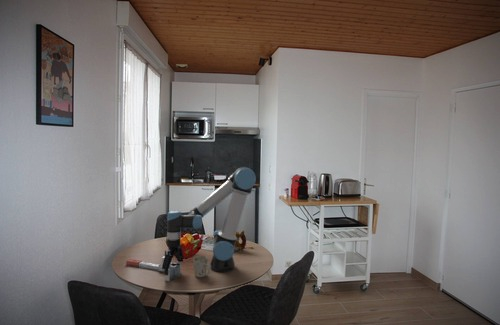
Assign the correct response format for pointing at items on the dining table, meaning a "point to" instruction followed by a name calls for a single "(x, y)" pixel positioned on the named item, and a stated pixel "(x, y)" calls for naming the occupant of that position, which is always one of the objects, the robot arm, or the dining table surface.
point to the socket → (174, 270)
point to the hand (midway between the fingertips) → (173, 276)
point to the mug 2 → (237, 244)
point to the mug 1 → (200, 266)
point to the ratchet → (146, 265)
